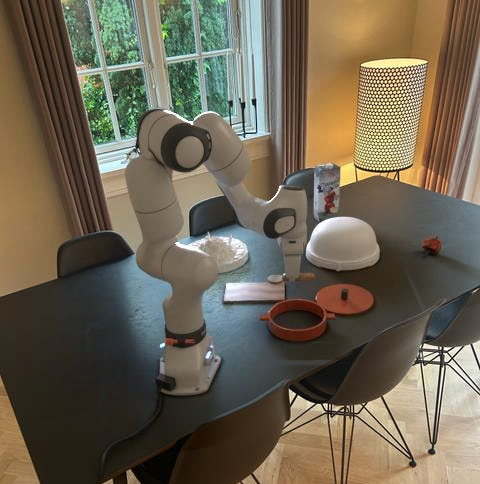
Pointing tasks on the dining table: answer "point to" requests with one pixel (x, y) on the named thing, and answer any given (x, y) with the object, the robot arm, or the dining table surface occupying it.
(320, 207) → the juice carton
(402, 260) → the dining table surface
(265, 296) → the board
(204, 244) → the cake
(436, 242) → the pomegranate
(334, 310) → the lid
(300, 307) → the pan
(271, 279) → the spoon
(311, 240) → the dome cover
